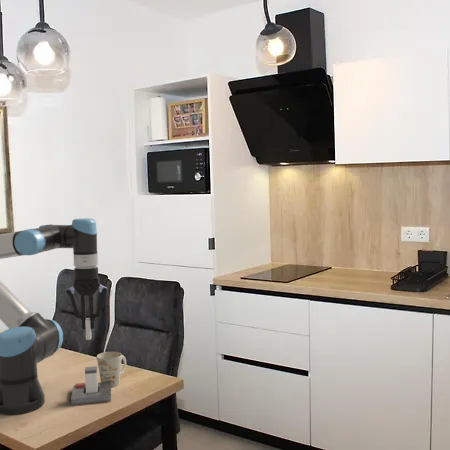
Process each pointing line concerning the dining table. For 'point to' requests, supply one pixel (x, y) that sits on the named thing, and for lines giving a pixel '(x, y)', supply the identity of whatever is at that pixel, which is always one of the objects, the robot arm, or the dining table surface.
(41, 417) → the dining table surface
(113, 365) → the mug
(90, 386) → the plug
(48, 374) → the dining table surface
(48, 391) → the dining table surface
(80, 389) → the socket plate
